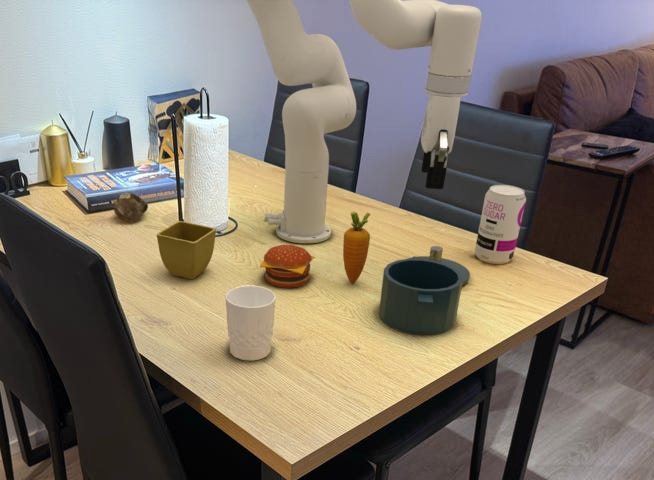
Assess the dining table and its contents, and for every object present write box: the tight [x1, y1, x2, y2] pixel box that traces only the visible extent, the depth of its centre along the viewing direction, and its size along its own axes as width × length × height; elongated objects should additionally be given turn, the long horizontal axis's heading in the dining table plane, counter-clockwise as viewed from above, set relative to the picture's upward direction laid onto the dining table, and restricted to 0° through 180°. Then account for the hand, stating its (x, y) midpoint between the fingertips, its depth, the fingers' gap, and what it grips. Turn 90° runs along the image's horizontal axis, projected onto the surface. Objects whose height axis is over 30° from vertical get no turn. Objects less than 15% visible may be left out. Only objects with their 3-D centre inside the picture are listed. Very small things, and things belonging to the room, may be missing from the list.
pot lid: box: [406, 245, 471, 286], centre depth 139 cm, size 15×15×6 cm
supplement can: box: [473, 184, 527, 265], centre depth 146 cm, size 8×8×15 cm
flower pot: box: [156, 220, 217, 280], centre depth 136 cm, size 9×9×9 cm
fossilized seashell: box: [113, 192, 149, 222], centre depth 164 cm, size 8×7×10 cm
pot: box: [378, 255, 464, 336], centre depth 123 cm, size 14×19×8 cm
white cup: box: [225, 284, 277, 362], centre depth 111 cm, size 8×8×10 cm
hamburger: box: [259, 244, 316, 289], centre depth 136 cm, size 9×10×7 cm
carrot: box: [342, 211, 371, 285], centre depth 133 cm, size 5×5×15 cm
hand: (431, 180), depth 130 cm, fingers open, 9 cm apart
